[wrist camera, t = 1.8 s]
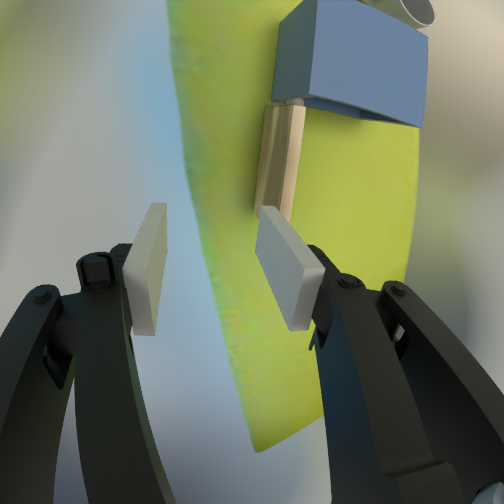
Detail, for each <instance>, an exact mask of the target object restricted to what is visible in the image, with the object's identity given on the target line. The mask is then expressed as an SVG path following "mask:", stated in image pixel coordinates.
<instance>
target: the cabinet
mask: <svg viewBox="0 0 504 504" xmlns="http://www.w3.org/2000/svg"><path fill="white" fill-rule="evenodd" d="M427 67H428V37H427V36H426V35H424V34H422V33H421V32H419V31H417V30H416V29H414V28H412V27H411V26H409V25H407V24H405V23H403V22H402V21H400V20H398V19H396V18H394V17H392V16H390V15H388V14H386V13H384V12H382V11H380V10H378V9H375V8H373V7H371V6H369V5H366V4H364V3H362V2H359V1H357V0H303V1H302V2H301V3H300V4H299V5H298V6H297V7H296V8H295V9H294V10H293V11H292V12H291V13H290V14H289V15H288V16H286V17H285V18H284V19H283V20H282V21H281V22H280V28H279V37H278V45H277V54H276V63H275V71H274V80H273V89H272V97H271V101H275V102H282V103H286V101H287V100H289V99H295V98H301V99H302V100H303V101H304V106H305V107H310V108H315V109H320V110H325V111H329V112H334V113H338V114H342V115H346V116H350V117H354V118H358V119H361V120H370V121H378V122H386V123H393V124H400V125H406V126H412V127H418V128H422V124H423V116H424V108H425V98H426V86H427V85H426V84H427V69H428V68H427Z"/></svg>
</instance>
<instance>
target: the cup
mask: <svg viewBox="0 0 504 504" xmlns="http://www.w3.org/2000/svg"><path fill="white" fill-rule="evenodd" d="M362 1H363V2H364V3H365V4H366V5H369V6H371V7H373V8H375V9H378V10H380V11H382V12H384V13H386V14H388V15H390V16H392V17H394V18H396V19H398V20H400V21H402V22H403V23H405V24H407V25H409V26H411V27H412V28H414V29H418V28H423V27H429V26H432V25H433V24H434V22H435V20H436V14H435V10H434V7H433V5H432V3H431V1H430V0H362Z"/></svg>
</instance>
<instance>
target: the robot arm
mask: <svg viewBox="0 0 504 504" xmlns="http://www.w3.org/2000/svg"><path fill="white" fill-rule="evenodd" d="M166 216H167V214H166V203H152V204H151V206H150V208H149V210H148V213H147V214H146V216H145V218H144V221H143V223H142V225H141V227H140V229H139V231H138V233H137V236H136V238H135V240H134V243H133V244H118V245H117V246H115V247H114V248H112V249H111V251H110V253H108V252H95V253H90V254H88V255H85V256H83V257H82V258H80V259H79V260H78V261H77V263H76V267H77V272H78V276H79V280H80V285H81V292H79V293H75V294H70V295H64V296H60V293H59V290H58V288H57V287H56V286H54V285H49V284H48V285H40V286H37V287H35V288H34V289H32V290H31V291H30V292H29V293H28V294H27V295H26V297H25V298H24V299H23V301H22V302H21V304H20V306H19V307H18V309H17V310H16V312H15V313H14V315H13V317H12V318H11V320H10V322H9V323H8V325H7V327H6V328H5V330H4V332H3V334H2V335H1V337H0V504H53V495H54V481H55V472H56V463H57V456H58V449H59V442H60V437H61V431H62V426H63V421H64V416H65V412H66V407H67V403H68V399H69V395H70V390H71V387H72V383H73V379H74V378H75V379H74V389H75V414H76V428H77V438H78V447H79V453H80V461H81V467H82V473H83V478H84V483H85V488H86V493H87V497H88V501H89V504H177V503H176V500H175V498H174V495H173V493H172V490H171V488H170V485H169V483H168V480H167V477H166V474H165V471H164V469H163V466H162V463H161V460H160V457H159V454H158V451H157V448H156V444H155V441H154V438H153V434H152V431H151V427H150V423H149V420H148V416H147V412H146V408H145V404H144V400H143V396H142V391H141V386H140V382H139V377H138V372H137V366H136V361H135V356H134V351H133V343H132V340H131V335H130V332H131V327H132V326H133V331H134V335H145V336H155V330H156V322H157V314H158V306H159V299H160V292H161V286H162V279H163V273H164V266H165V261H166V255H167V221H166V220H167V217H166ZM255 252H256V254H257V257H258V259H259V261H260V264H261V266H262V268H263V271H264V273H265V275H266V278H267V280H268V282H269V285H270V287H271V289H272V292H273V294H274V296H275V299H276V301H277V303H278V306H279V308H280V310H281V313H282V315H283V317H284V320H285V322H286V324H287V327H288V329H289V331H301V330H308V329H309V325H310V322H311V319H313V321H314V323H315V325H316V327H315V330H314V333H313V336H312V339H311V342H310V345H309V350H312V347H313V345H314V344H315V351H316V358H317V364H318V371H319V379H320V386H321V394H322V402H323V410H324V418H325V427H326V436H327V446H328V456H329V468H330V479H331V494H332V502H331V504H504V395H503V393H502V392H501V391H500V389H499V388H498V387H497V385H496V384H495V383H494V382H493V380H492V379H491V378H490V376H489V375H488V374H487V373H486V371H485V370H484V369H483V368H482V366H481V365H480V364H479V363H478V361H477V360H476V359H475V358H474V357H473V356H472V354H471V353H470V352H469V351H468V350H467V348H466V347H465V346H464V345H463V344H462V343H461V342H460V340H459V339H458V338H457V337H456V336H455V335H454V334H453V333H452V331H451V330H450V329H449V328H448V327H447V326H446V325H445V324H444V323H443V322H442V321H441V319H440V318H439V317H438V316H437V315H436V314H435V313H434V312H433V311H432V310H431V309H430V308H429V307H428V306H427V305H426V304H425V303H424V302H423V301H422V300H421V299H420V298H419V297H418V296H417V295H416V294H415V293H414V292H413V291H412V290H411V289H410V288H409V287H408V286H406V285H404V284H403V283H402V282H398V281H386V282H385V283H384V284H383V287H382V289H381V291H376V290H369V289H366V287H365V285H364V283H363V282H362V281H361V280H360V279H358V278H357V277H355V276H352V275H350V274H345V273H341V272H340V271H339V270H338V269H337V268H336V266H335V265H334V264H333V263H332V262H330V259H329V258H328V257H326V255H325V253H324V252H323V251H322V250H321V249H319V248H317V247H316V246H314V245H306V243H305V242H304V241H303V240H302V239H301V237H300V236H299V235H298V234H297V232H296V231H295V230H294V229H293V228H292V226H291V225H290V224H289V223H288V221H287V220H286V219H285V218H284V217H283V215H282V214H281V213H280V212H279V211H278V210H277V208H276V207H275V206H264V205H261V208H260V216H259V224H258V233H257V241H256V249H255ZM400 326H402V327H403V329H404V330H405V332H404V334H403V336H402V337H401V339H400V340H398V339H397V338H396V336H395V335H396V333H397V331H398V329H399V327H400Z"/></svg>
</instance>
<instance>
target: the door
mask: <svg viewBox="0 0 504 504" xmlns="http://www.w3.org/2000/svg"><path fill="white" fill-rule="evenodd" d="M303 106H304V101H303V100H302V99H301V98H295V99H289V100H287V101H286V106H280V104H279V103H278V102H272V103H269V104H268V105H267V108H265V114H264V123H263V132H262V140H261V149H260V158H259V167H258V176H257V185H256V194H255V203H254V213H255V214H256V216H257V218H258V219H259V216H260V208H261V205H264V206H275V207H276V208H277V210H278V211H279V212H280V213H281V214H282V215H283V217H284V218H285V219H286V220H287V221H288V223H290V217H291V211H292V205H293V198H294V192H295V185H296V179H297V172H298V165H299V158H300V151H301V143H302V136H303V129H304V121H305V113H306V107H303Z"/></svg>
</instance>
